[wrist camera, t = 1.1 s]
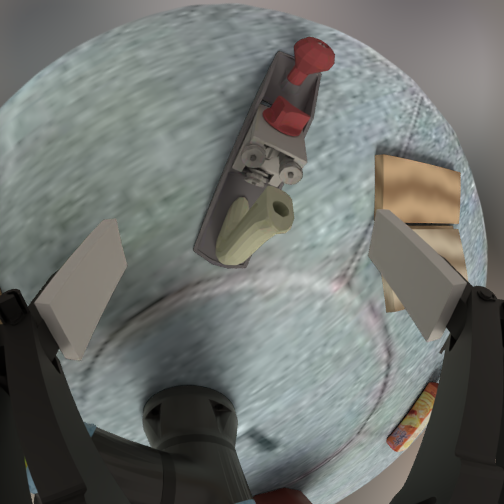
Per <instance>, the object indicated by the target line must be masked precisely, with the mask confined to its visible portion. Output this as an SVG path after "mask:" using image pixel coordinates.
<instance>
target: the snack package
mask: <svg viewBox="0 0 504 504" xmlns="http://www.w3.org/2000/svg"><path fill="white" fill-rule="evenodd" d="M437 389H438V383H435V382H430V383H428V385H427V386H426V388H425V390H424V391H423V393H422V394H421V396H420V397H419V398H418V400H417V401H416V403H415V404H414V406H413V407H412V409H411V410H410V411H409V413H408V414H407V415H406V417H405V418H404V419H403V421H402V422H401V423H400V424H399V426H398V427H397V428H396V429H395V431H394V432H393V433H392V434H391V435H390V436H389V437H388V438H387V444H388V445H389V446H390V447H391V448H392V449H393V450H394V451H396V452H400V451H403V450H405V449H407V448H408V447H409V445H410V444H411V443H412V442H413V440H414V439H415V438H416V437H417V436H418V435H419V433H420V432H421V431H422V430H423V429H424V427H425V426H426V425H427V423H428V422H429V418H430V415H431V412H432V408H433V404H434V401H435V397H436V393H437Z"/></svg>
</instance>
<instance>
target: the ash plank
mask: <svg viewBox="0 0 504 504" xmlns="http://www.w3.org/2000/svg"><path fill="white" fill-rule="evenodd" d="M409 227H410V228H411V229H412V230H413V231H414V232H415V233H417V234H418V235H419V236H420V237H421V238H422V239H423V240H424V241H425V242H426V243H427V244H429V245H430V246H431V247H432V248H433V249H434V250H435V251H436V252H437V253H438V254H439V255H441V256H443V257H444V258H445V259H446V260H447V261H448V262H449V263H450V264H451V266H453V267H454V268H455V269H456V271H458V272H459V273H460V274H461V275H462V276H463V277H464V278H465V279H466V280H467V281H468V277H467V270H466V264H465V259H464V254H463V249H462V244H461V239H460V235H459V230H458V229H453V226H409ZM381 276H382V274H381ZM382 282H383V289H384V296H385V304H386V313H387V312H396V311H400V310H404V309H405V308H404V306H403V305H402V303H401V302H400V300H399V299H398V297H397V296H396V294H395V293H394V291H393V290H392V288H391V287H390V286H389V284H388V283H387V281H386V280H385V279H384V277H383V276H382Z"/></svg>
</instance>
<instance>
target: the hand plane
mask: <svg viewBox="0 0 504 504" xmlns="http://www.w3.org/2000/svg"><path fill="white" fill-rule="evenodd" d="M294 55H295V57H293V56H291V55H288V54H286V53H283V52H280V51H278V52H277V54H276V55H275V57H274V59H273V61H272V63H271V66H270V68H269V70H268V72H267V74H266V76H265V78H264V80H263V82H262V84H261V86H260V88H259V91H258V93H257V95H256V97H255V99H254V101H253V103H252V106H251V108H250V110H249V112H248V114H247V117H246V119H245V121H244V123H243V126H242V128H241V130H240V132H239V135H238V137H237V139H236V142H235V144H234V146H233V149H232V151H231V153H230V156H229V158H228V161H227V163H226V165H225V168H224V170H223V173H222V175H221V178H220V180H219V183H218V185H217V188H216V190H215V193H214V195H213V198H212V200H211V203H210V206H209V208H208V211H207V213H206V216H205V219H204V221H203V224H202V227H201V229H200V232H199V235H198V237H197V240H196V243H195V245H194V248H193V251H194V252H195V253H197V254H198V255H200V256H201V257H203V258H204V259H206V260H207V261H208V262H210V263H211V264H214V265H217V266H221V267H224V268H246V267H247V265H248V262H249V260H250V258H251V256H252V254H253V253H254V252H255V251H256V250H257V249H258V248H259V247H260V246H261V245H262V244H264V243H265V242H266V241H267V240H268V239H270V238H271V237H272V236H274V235H275V234H283V233H286V232H287V231H289V230H290V229H291V226H292V223H293V220H294V212H293V203H292V199H291V197H290V196H289V195H288V194H287V193H286V192H284V191H282V190H281V189H282V187H283V185H284V183H285V184H290V185H292V184H296V183H299V181H300V180H301V179H302V177H303V174H302V173H303V172H302V168H303V167H304V166H305V164H306V163H307V156H306V148H305V141H304V138H305V136H306V134H307V132H308V129H309V127H310V125H311V123H312V121H313V118H314V113H315V107H316V102H317V96H318V90H319V84H320V79H321V75H322V74H321V73H320V72H323V71H328V70H329V69H330V68H331V67H332V66H333V64H334V59H335V54H334V52H333V50H332V49H331V48H330V47H329V46H328V45H327V44H326V43H324V42H323V41H321V40H319V39H316V38H313V37H307V38H304V39H301V40H299V41H298V42H297V43H296V44H295V46H294ZM262 100H263V101H265V102H268V103H270V104H272V106H271V107H270V108H268V107H266V106H264V105H262V104H260V103H261V101H262Z"/></svg>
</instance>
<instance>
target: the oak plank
mask: <svg viewBox="0 0 504 504" xmlns="http://www.w3.org/2000/svg"><path fill="white" fill-rule="evenodd" d="M377 209H385V210H390V211H391V212H392V213H394V214H395V215H396V216H397V217H398V218H399V219H401V220H402V221H403V222H404V223H453V224H459V213H460V172H456V171H453V170H449V169H445V168H442V167H438V166H434V165H430V164H426V163H422V162H417V161H413V160H409V159H404V158H399V157H394V156H389V155H384V154H382V155H375V211H374V221H375V216H376V210H377Z"/></svg>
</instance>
